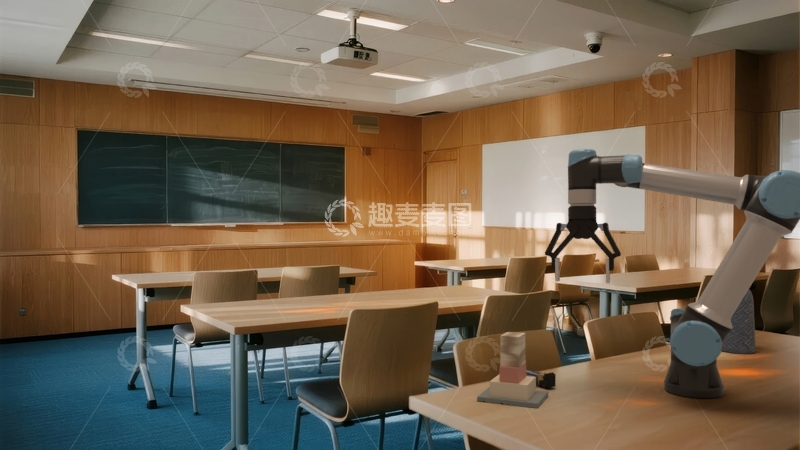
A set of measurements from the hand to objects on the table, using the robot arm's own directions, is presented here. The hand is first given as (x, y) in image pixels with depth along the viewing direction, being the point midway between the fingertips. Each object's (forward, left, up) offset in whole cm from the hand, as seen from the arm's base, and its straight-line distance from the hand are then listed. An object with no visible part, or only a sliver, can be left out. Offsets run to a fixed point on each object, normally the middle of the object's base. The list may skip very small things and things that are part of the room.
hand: (582, 282), depth 176 cm
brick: (+16, +14, -22) cm, 30 cm away
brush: (+15, -4, -31) cm, 35 cm away
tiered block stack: (+16, +14, -31) cm, 37 cm away
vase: (-43, -85, -31) cm, 100 cm away
